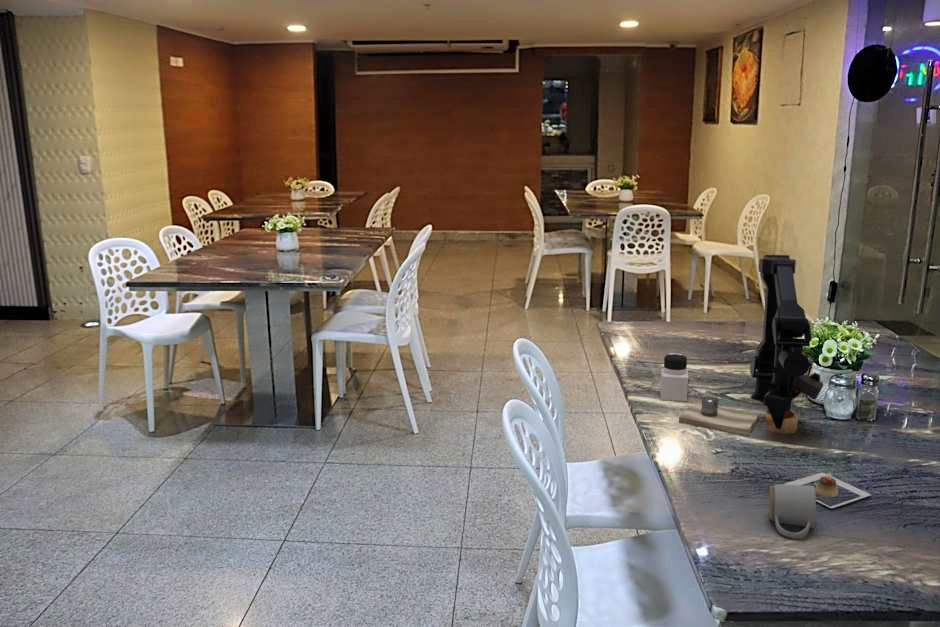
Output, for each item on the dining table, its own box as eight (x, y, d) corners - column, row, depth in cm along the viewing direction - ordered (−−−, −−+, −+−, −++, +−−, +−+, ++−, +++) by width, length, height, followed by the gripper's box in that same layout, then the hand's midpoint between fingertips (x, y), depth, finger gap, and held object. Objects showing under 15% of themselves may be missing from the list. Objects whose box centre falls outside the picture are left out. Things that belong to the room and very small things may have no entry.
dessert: (831, 513, 156) (833, 491, 155) (782, 489, 167) (784, 468, 166) (871, 499, 162) (874, 478, 160) (821, 476, 172) (824, 456, 171)
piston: (703, 410, 206) (704, 395, 205) (719, 412, 204) (720, 398, 203) (699, 414, 202) (700, 400, 201) (715, 417, 200) (716, 402, 199)
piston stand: (692, 407, 211) (692, 402, 211) (758, 419, 203) (759, 414, 202) (678, 422, 201) (679, 417, 201) (747, 435, 193) (748, 430, 192)
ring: (769, 420, 202) (770, 406, 201) (798, 426, 198) (799, 411, 197) (763, 430, 196) (764, 415, 195) (793, 435, 192) (794, 420, 191)
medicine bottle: (687, 402, 216) (690, 359, 213) (660, 400, 217) (662, 358, 214) (686, 393, 222) (688, 352, 220) (659, 391, 224) (661, 351, 221)
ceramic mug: (766, 509, 157) (769, 474, 155) (811, 515, 155) (815, 479, 153) (769, 537, 147) (772, 500, 145) (816, 543, 145) (821, 506, 143)
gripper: (816, 379, 181) (809, 443, 185) (828, 358, 197) (822, 417, 200) (765, 372, 187) (760, 433, 191) (780, 352, 202) (775, 409, 206)
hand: (781, 423), depth 197 cm, fingers closed on ring, 7 cm apart
